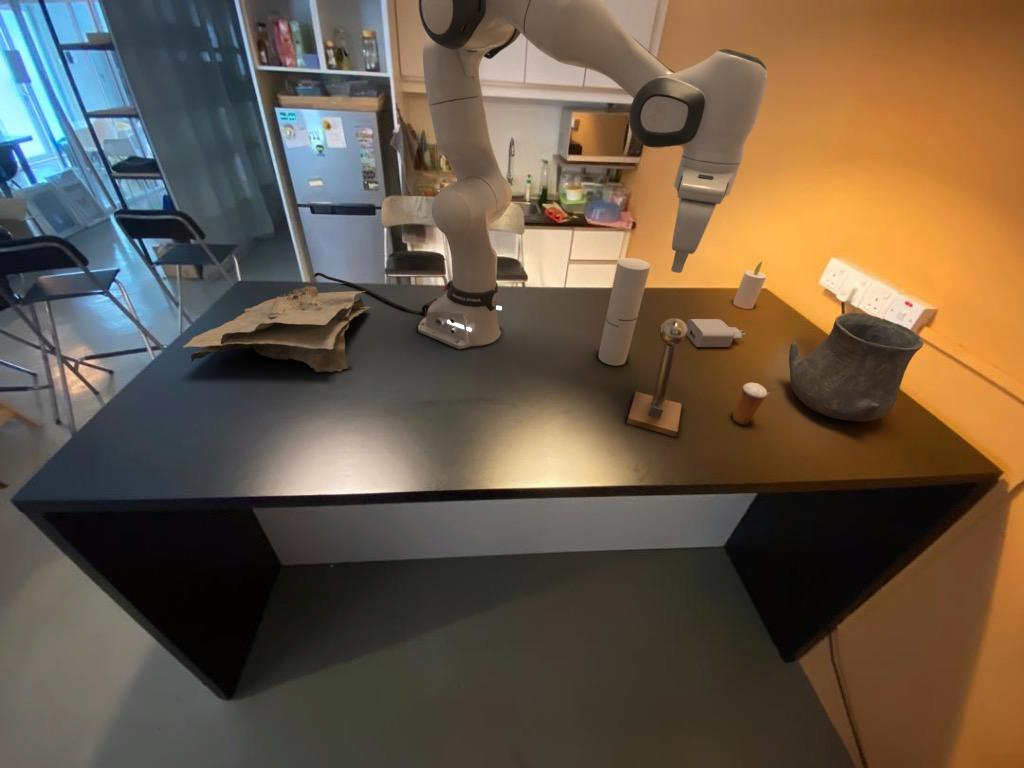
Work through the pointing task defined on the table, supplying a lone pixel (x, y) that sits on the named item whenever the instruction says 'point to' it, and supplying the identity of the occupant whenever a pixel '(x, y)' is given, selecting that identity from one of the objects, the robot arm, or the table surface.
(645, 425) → the holder base
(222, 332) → the crumpled cardboard stack
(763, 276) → the candle
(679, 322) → the ball topped rod
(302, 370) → the table surface
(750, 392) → the milkshake
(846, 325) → the vessel
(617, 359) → the cylindrical container
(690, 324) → the charger
